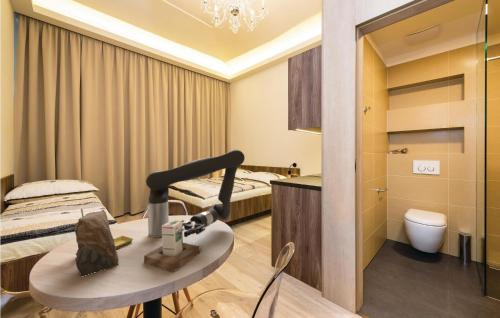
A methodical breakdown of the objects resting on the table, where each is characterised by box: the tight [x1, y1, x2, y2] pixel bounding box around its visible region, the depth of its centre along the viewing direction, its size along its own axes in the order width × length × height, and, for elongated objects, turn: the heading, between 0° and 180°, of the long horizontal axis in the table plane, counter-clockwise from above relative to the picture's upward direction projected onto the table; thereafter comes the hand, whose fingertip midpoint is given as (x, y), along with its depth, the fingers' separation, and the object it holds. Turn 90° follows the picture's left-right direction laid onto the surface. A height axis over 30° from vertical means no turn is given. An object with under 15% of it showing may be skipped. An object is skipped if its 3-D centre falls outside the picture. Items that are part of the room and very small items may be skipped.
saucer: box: [113, 235, 134, 249], centre depth 97 cm, size 9×9×2 cm
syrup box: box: [161, 220, 184, 257], centre depth 83 cm, size 6×6×14 cm
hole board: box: [143, 242, 201, 273], centre depth 83 cm, size 15×15×3 cm
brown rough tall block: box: [74, 209, 119, 277], centre depth 78 cm, size 13×13×20 cm
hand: (176, 232), depth 85 cm, fingers open, 8 cm apart
